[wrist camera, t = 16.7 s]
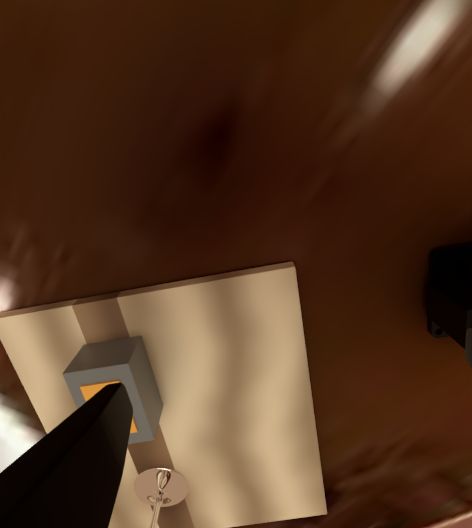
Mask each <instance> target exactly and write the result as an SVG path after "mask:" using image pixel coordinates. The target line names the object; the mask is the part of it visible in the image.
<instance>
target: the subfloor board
mask: <svg viewBox="0 0 472 528" xmlns="http://www.w3.org/2000/svg"><path fill="white" fill-rule="evenodd" d="M135 336H142V339H143V342H144V345H145V348H146V351H147V355H148V358H149V361H150V364H151V367H152V371H153V374H154V377H155V380H156V383H157V386H158V390H159V393H160V396H161V399H162V402H163V405H164V406H163V410H162V413H161V417H160V421H159V425H158V429H157V432H156V436H155V440H153V441H146V442H139V443H132V444H128V448H127V454H126V459H125V465H124V470H123V475H122V479H121V483H120V487H119V490H118V494H117V498H116V501H115V505H114V509H113V512H112V516H111V519H110V523H109V527H108V528H150V524H151V520H152V515H153V509H154V506H152V505H149V504H147V503H145V502H143V501H142V500H140V499H139V498H138V497H137V495H136V494H135V491H134V481H135V479H136V477H137V476H138V475H139V474H140V473H141V472H143V471H144V470H147V469H150V468H154V467H165V468H170V469H173V470H175V471H177V472H179V473H180V474H182V475H183V476H184V477H185V479H186V480H187V482H188V487H189V490H188V493H187V495H186V497H185V498H184V499H183V500H182V501H181V502H180V503H178V504H176V505H173V506H168V507H160V511H159V515H158V520H157V526H156V528H228V527H236V526H243V525H250V524H257V523H265V522H272V521H279V520H287V519H294V518H301V517H309V516H316V515H323V514H327V509H326V502H325V494H324V486H323V478H322V471H321V463H320V455H319V447H318V440H317V432H316V424H315V416H314V409H313V401H312V393H311V386H310V378H309V370H308V362H307V355H306V347H305V339H304V331H303V324H302V316H301V308H300V300H299V293H298V285H297V277H296V270H295V265H294V264H293V262H292V261H291V262H286V263H280V264H274V265H268V266H263V267H257V268H251V269H246V270H240V271H234V272H229V273H223V274H217V275H211V276H206V277H200V278H194V279H189V280H183V281H177V282H171V283H166V284H160V285H154V286H149V287H143V288H137V289H132V290H126V291H120V292H114V293H109V294H103V295H97V296H92V297H86V298H80V299H75V300H69V301H63V302H57V303H52V304H46V305H40V306H35V307H29V308H23V309H17V310H12V311H6V312H1V313H0V340H1V342H2V344H3V346H4V348H5V350H6V352H7V354H8V356H9V358H10V360H11V362H12V364H13V366H14V368H15V370H16V372H17V374H18V376H19V378H20V380H21V382H22V384H23V386H24V388H25V390H26V392H27V394H28V396H29V398H30V400H31V402H32V404H33V406H34V408H35V410H36V412H37V414H38V416H39V418H40V420H41V422H42V424H43V426H44V428H45V430H46V432H47V434H48V433H49V432H50V431H52V430H53V429H54V428H55V427H56V426H58V425H59V424H60V423H61V422H62V421H64V420H65V419H66V418H67V417H68V416H70V415H71V414H72V413H73V412H74V411H76V410H77V407H76V405H75V402H74V400H73V398H72V395H71V393H70V391H69V388H68V386H67V384H66V381H65V379H64V377H63V374H62V373H63V372H64V371H65V369H66V368H67V367H68V365H69V364H70V363H71V361H72V360H73V359H74V357H75V356H76V355H77V353H78V352H79V350H80V349H81V348H82V346H83V345H85V344H91V343H98V342H104V341H110V340H116V339H122V338H129V337H135Z"/></svg>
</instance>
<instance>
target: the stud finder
mask: <svg viewBox="0 0 472 528" xmlns="http://www.w3.org/2000/svg"><path fill="white" fill-rule="evenodd" d="M62 374H63V377H64V379H65V381H66V384H67V386H68V388H69V391H70V393H71V395H72V398H73V400H74V402H75V405H76V407H77V409H78V408H79V407H80V406H82V405H83V404H84V403H85V402H86V401H88V400H89V399H90V398H91V397H92V396H94V395H95V394H96V393H97V392H98V391H100V390H101V389H102V388H103V387H104V386H106V385H108V384H113V383H119V382H121V383H123V384H124V385H125V387H126V390H127V393H128V395H129V398H130V401H131V403H132V407H133V418H132V424H131V430H130V436H129V442H128V444H132V443H139V442H146V441H153V440H155V436H156V432H157V429H158V425H159V421H160V417H161V413H162V410H163V406H164V405H163V402H162V399H161V396H160V393H159V390H158V386H157V383H156V380H155V377H154V374H153V371H152V367H151V364H150V361H149V358H148V355H147V351H146V348H145V345H144V342H143V339H142V336H135V337H129V338H122V339H116V340H110V341H104V342H98V343H91V344H85V345H83V346H82V348H81V349H80V350H79V352H78V353H77V355H76V356H75V357H74V359H73V360H72V361H71V363H70V364H69V365H68V367H67V368H66V369H65V371H64V372H63V373H62Z"/></svg>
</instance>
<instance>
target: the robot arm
mask: <svg viewBox="0 0 472 528" xmlns="http://www.w3.org/2000/svg"><path fill="white" fill-rule="evenodd" d="M439 254H442V255H441V257H440V258H439V259H437V257H438V255H439ZM427 317H429V321H428V331H429V333H430V334H431V335H432V336H433V337H435V338H441V337H447V336H450V337H452V338H453V339H454V340H455V341H456V342H457V343H458V344H460V345H461V346H462V347H463V348H464V349H465V356H466V359H467V361H468V363H469V365H470V366H471V368H472V242H470V243H464V244H458V245H453V246H447V247H441V248H437V249H434V250H433V251H432V252H431V254H430V271H429V282H428V284H427ZM437 329H439V330H438V331H436V330H437ZM435 331H436V332H435ZM132 418H133V407H132V403H131V401H130V398H129V395H128V393H127V390H126V387H125V385H124V384H123V383H121V382H119V383H113V384H108V385H106V386H104V387H103V388H102V389H101V390H100V391H98V392H97V393H96V394H95V395H94V396H92V397H91V398H90V399H89V400H88V401H86V402H85V403H84V404H83V405H82V406H80V407H79V408H78V409H77V410H76V411H74V412H73V413H72V414H71V415H70V416H68V417H67V418H66V419H65V420H64V421H62V422H61V423H60V424H59V425H58V426H56V427H55V428H54V429H53V430H52V431H50V432H49V433H48V434H47V435H46V436H44V437H43V438H42V439H41V440H40V441H38V442H37V443H36V444H35V445H34V446H32V447H31V448H30V449H29V450H27V451H26V452H25V453H24V454H23V455H21V456H20V457H19V458H18V459H17V460H15V461H14V462H13V463H12V464H11V465H10V466H8V467H7V468H6V469H5V470H3V471H2V472H1V473H0V528H108V527H109V523H110V519H111V516H112V512H113V509H114V505H115V501H116V498H117V494H118V490H119V487H120V483H121V479H122V475H123V470H124V465H125V459H126V454H127V448H128V442H129V436H130V430H131V424H132Z"/></svg>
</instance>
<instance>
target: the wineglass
mask: <svg viewBox="0 0 472 528" xmlns="http://www.w3.org/2000/svg"><path fill="white" fill-rule="evenodd" d="M188 490H189V487H188V482H187V480H186V479H185V477H184V476H183V475H182V474H180V473H179V472H177V471H175V470H173V469H170V468H165V467H154V468H150V469H147V470H144V471H143V472H141V473H140V474H139V475H138V476H137V477H136V479H135V481H134V491H135V494H136V495H137V497H138V498H139V499H140V500H142V501H143V502H145V503H147V504H149V505H152V506H154V509H153V515H152V520H151V524H150V528H156V526H157V520H158V515H159V511H160V507H168V506H173V505H176V504H178V503H180V502H181V501H182V500H183V499H184V498H185V497H186V495H187V493H188Z"/></svg>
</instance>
